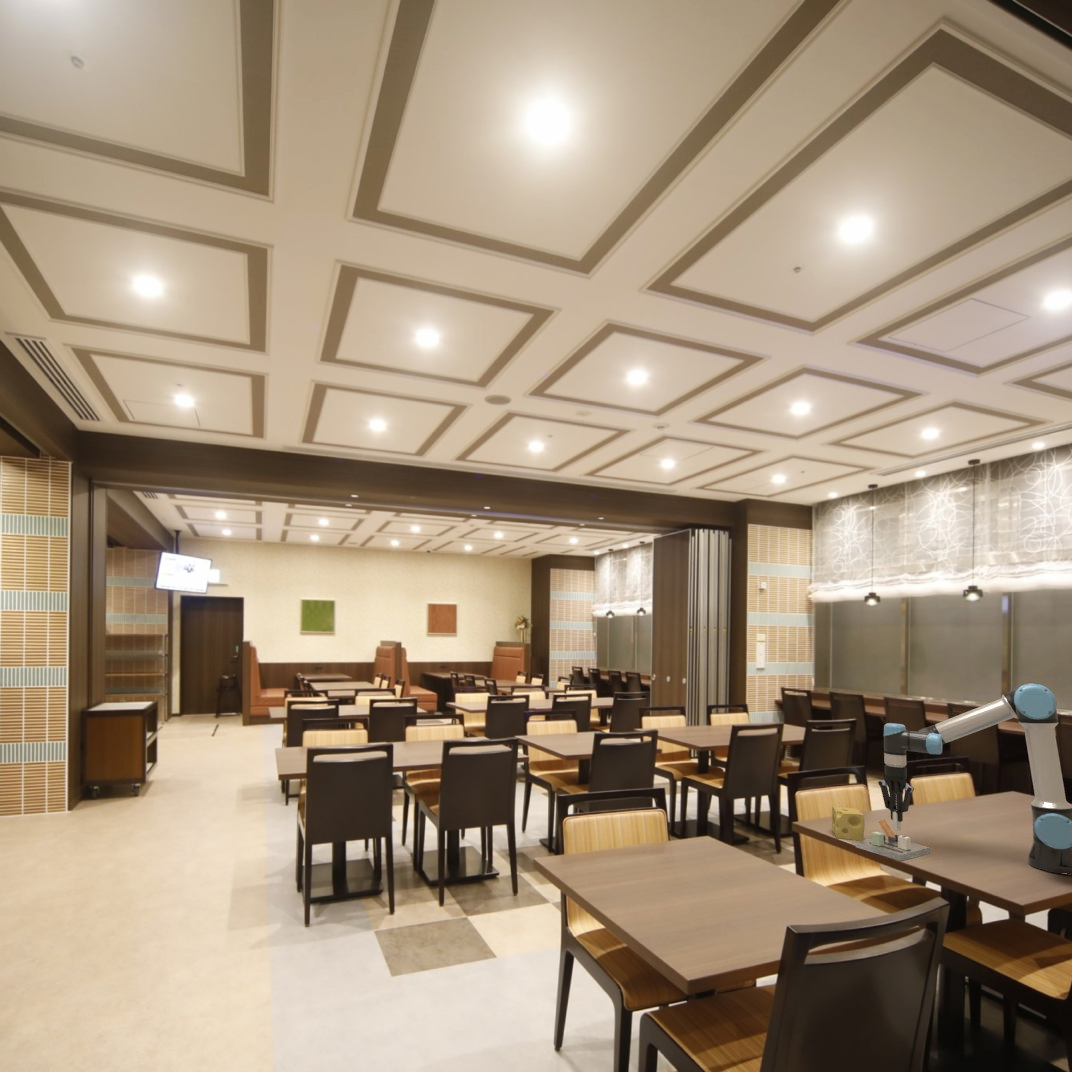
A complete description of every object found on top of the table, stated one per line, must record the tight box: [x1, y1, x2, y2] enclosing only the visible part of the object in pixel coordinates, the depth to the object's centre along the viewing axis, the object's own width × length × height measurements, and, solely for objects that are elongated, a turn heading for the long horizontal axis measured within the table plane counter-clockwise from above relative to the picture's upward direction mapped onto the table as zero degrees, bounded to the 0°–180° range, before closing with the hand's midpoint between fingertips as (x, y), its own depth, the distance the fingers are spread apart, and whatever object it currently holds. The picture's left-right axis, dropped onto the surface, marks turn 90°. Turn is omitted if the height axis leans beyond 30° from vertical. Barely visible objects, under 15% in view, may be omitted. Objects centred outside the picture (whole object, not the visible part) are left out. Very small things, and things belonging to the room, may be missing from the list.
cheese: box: [831, 806, 866, 841], centre depth 274 cm, size 10×11×10 cm
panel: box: [854, 834, 931, 862], centre depth 258 cm, size 17×20×4 cm
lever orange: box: [878, 819, 897, 841], centre depth 265 cm, size 1×3×8 cm
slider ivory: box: [898, 835, 911, 850], centre depth 253 cm, size 3×3×4 cm
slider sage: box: [870, 831, 885, 846], centre depth 257 cm, size 3×3×4 cm
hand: (896, 829), depth 262 cm, fingers closed
